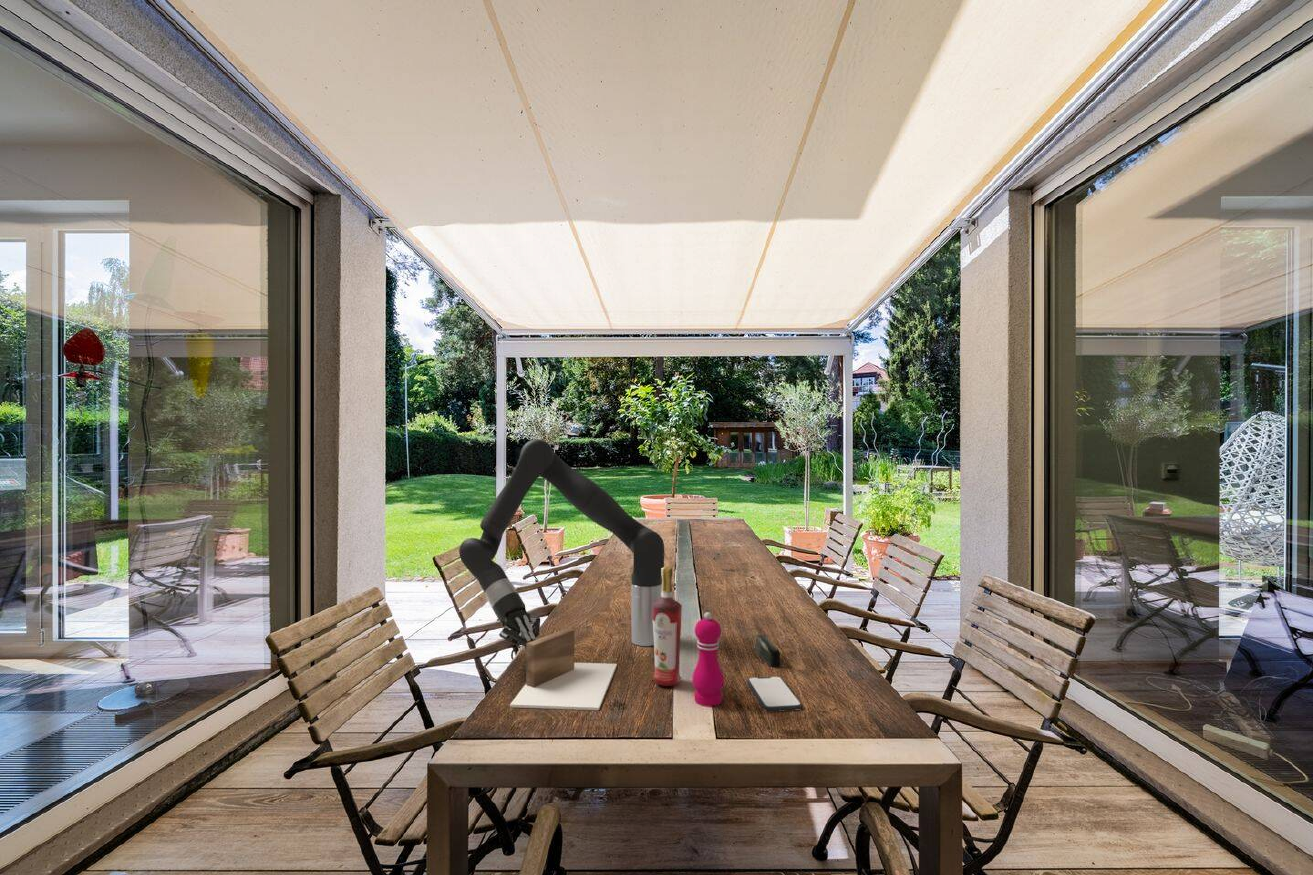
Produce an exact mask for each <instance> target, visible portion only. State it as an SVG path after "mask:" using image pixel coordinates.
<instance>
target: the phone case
mask: <svg viewBox="0 0 1313 875" xmlns="http://www.w3.org/2000/svg"><path fill="white" fill-rule="evenodd" d="M746 682H747V683H746V684H747V686H748V688H749V689H750V691H751V692H752V694H753V693H754V694H753V695H754V697H755V696H756V697H755V698H756V700H757V702H758V704H760V706H761V705H762V706H761V707H762V709H763V708H764V709H765V710H766V711H765V710H764V709H763V710H764V711H765V712H768V711H778V712H780V711H779V710H795V709H801V708H802V709H803V704H802V702H801V701H800V700H799V698H798V697H797V696H796V695H795V693H794V692H793V691H792V689H791V688H790V687H789V686H788V685H787V683H786V681H784V680H783V678H782V677H780V676H759V677H757V676H756V677H748V678H747V681H746ZM802 709H801V710H802Z"/></svg>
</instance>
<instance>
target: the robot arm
mask: <svg viewBox="0 0 1313 875" xmlns="http://www.w3.org/2000/svg"><path fill="white" fill-rule="evenodd" d="M539 477H542V478H543V479H544V480H545V481H547V482H549V483H550V484H551V485H552V486H553V487H555V489H557V491H558V492H559V493H560V494H561V495H562V496H563V497H564V499H566V500H567V501H568V502H569V503H570V504H571V505H572V506H574V507H575V509H577V510H578V511H579V512H580V513H581V514H582V515H584V516H585V517H586V518H588V519H589V520H591V521H592V522H593V523H595V524H597V525H598V526H600V527H602V528H603V529H605V530H607V531H609V532H610V533H612V534H613V535H614V536H616V537H617V538H618V539H619V541H621V542H622V543H623V544H624V545H625V546H626V547H627V548H628V549H629V550H630V551H631V553H632V554H633V566H632V568H633V570H632V574H631V577H630V579H631V581H630V582H631V589H630V590H631V591H630V592H631V597H630V598H631V600H630V601H631V602H630V603H631V604H630V605H631V608H630V610H631V613H630V614H631V622H630V624H631V627H630V628H631V632H630V634H631V635H630V637H631V643H632V644H634V645H636V646H641V647H654V636H653V616H652V605H653V604H654V603H655V602H656V601H659V600H661V591H662V576H661V568H664V567H665V543H664V540H663V538H662V536H661V535H660V534H659V533H658V532H656V531H654V530H653V529H651V528H649V527H647V526H645V525H644V524H642V523H641V522H639V521H638V520H637V519H635V518H633V516H631V515H630V514H629V513H627V512H626V511H625V510H624V509H623V507H622V506H621V505H620V503H618V501H617V500H616V499H614V497H612V496H611V494H609V493H608V492H607V491H606V490H604V489H603V487H601V486H599V484H597V483H596V482H594V481H593V480H592V479H590V478H588V477H587V476H585V475H584V474H583V473H581V472H579V471H578V470H576V469H574V468H572V467H571V466H569V465H568V463H566V462H565V461H564V460H563V459H562V458H561V457H559V456H558V455H557V453H556V452H554V450H553V448H552V446H551V444H549V443H548V442H547V441H546V440H543V439H539V438H538V439H531V440H528V441H527V442H526V443H525V444H524V445H523V446H522V448H521V450H520V452H519V459H518V461H517V464H516V465H515V467H514V470H513V471H512V474H511V476H510V478H509V479H508V481H507V482H506V483H505V486H504V487H503V488H502V489H501V491H500V492H499V494H497V496H496V498H495V499H494V501H493V502H492V504H491V505H490V507H489V508H488V510H487V512H486V513H485V514H484V516H483V518H482V520H481V521H480V526H479V527H480V528H481V529H480V530H482V533H481V536H480V539H479V538H476V537H469V538H467V539H464V540H463V541H462V542H461V544H460V545H459V550H458V553H459V558H460V560H461V562H462V564H463V566H465V568H466V569H467V570H468V571H469V572H470V573H471V575H472V576H473V577H474V578H476V580H477V581H478V583H479V585H480V587H481V589H482V590H483V592H484V593H485V594H484V595H485V597H486V598H487V601H488V603H489V605H490V607H491V608H492V611H493V613H494V614H495V616H496V619H498V621H499V623H501V624H502V629H501V631H500V632H499V635H498V636H499V637H500V638H502V639H503V640H505V641H507V642H509V643H511V644H512V645H514V646H516V647H519V646H522V647H524V648H525V649H526V643H529V642H532V641H534V640H537V638H538V637H539V636H540V631H541V630H540V629H541V617H539V616H537V617H536V618H535V617H532V616H531V614H530V613H529V612H528V611H527V609H526V604H525V602H524V600H523V599H522V597H521V596H520V594H519V593H518V591H517V589H516V587H515V586H514V584H513V583H512V582H511V581H510V579H509V578H508V575H507V574H506V572H505V570H504V569H503V568H502V567H501V565H500V564H498V563H497V562H495V561H493V560H494V559H495V557H496V556H497V553H498V551H499V548H500V545H501V542H502V539H503V535H504V533H505V532H506V531H507V528H508V527H509V525H510V523H511V522H512V521H513V519H514V517H515V515H516V513H517V512H518V511H519V508H520V506H521V505H522V503H523V501H524V499H525V497H526V496H527V494H528V492H529V490H530V489H531V488H532V486H533V485H534V483H535V482H536V481H537V480H538V479H539Z"/></svg>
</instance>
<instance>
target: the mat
mask: <svg viewBox="0 0 1313 875" xmlns="http://www.w3.org/2000/svg"><path fill="white" fill-rule="evenodd" d="M617 666H618V664H617V663H603V662H602V663H601V662H574V670H572V671H569V672H567V673H565V674H563V675H561V676H558V677H556V678H554V679H552V680H550V681H547V682H545V683H543V684H541V685H539V686H537V687H534V688H533V687H530V686H527V685H526V683H525V684H524V685H523V686H522V688H521V690H520V691H519V692H518V693H517V695H516V696H515V698H513V700H512V702H511V703H510V704H509V708H516V709H517V708H519V709H520V708H523V709H543V710H544V709H550V710H572V709H573V710H577V711H599V710H600V709H601V705H602V704H603V701H604V698H605V697H606V694H607V691H608V689H609V687H610V684H611V682H612V678H613V676H614V674H615V671H616V670H617Z"/></svg>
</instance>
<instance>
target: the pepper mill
mask: <svg viewBox="0 0 1313 875" xmlns="http://www.w3.org/2000/svg"><path fill="white" fill-rule="evenodd" d="M712 617H713V616H712V613H711V612H707V611H706V612H705V613H704V614H703V618H701V619H700V620H698V621H697V622H696V624H695V627H694V635H695V636H696V638H697V640H696V647H697V648H698V660H697V663H696V666H695V668H694V671H693V674H692V685H693V687H694V689H695V691H694V701H695V703H696V704H698V705H701V706H704V707H714V706H713V705H715V706H718V705H720V704H722V702H723V693H722V691H721V690H722V689H723V687H724V685H725V678H724V674H723V672H722V669H721V665H720V664H719V659H718V649H719V648H720V641H719V638H720V637H721V634H722V629H721V625H720V623H719V622H718V621H717V620H716V619H713V618H712ZM717 704H718V705H717Z"/></svg>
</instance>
